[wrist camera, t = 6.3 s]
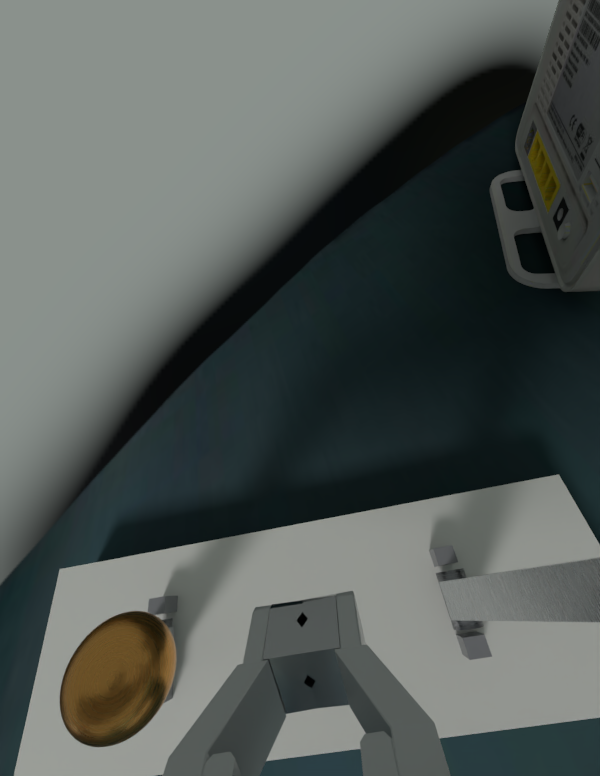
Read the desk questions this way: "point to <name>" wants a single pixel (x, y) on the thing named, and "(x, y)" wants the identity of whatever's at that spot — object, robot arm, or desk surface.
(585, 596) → the grey knob lever
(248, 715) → the robot arm
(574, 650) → the control panel
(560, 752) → the desk surface
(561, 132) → the network device
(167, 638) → the orange knob lever
